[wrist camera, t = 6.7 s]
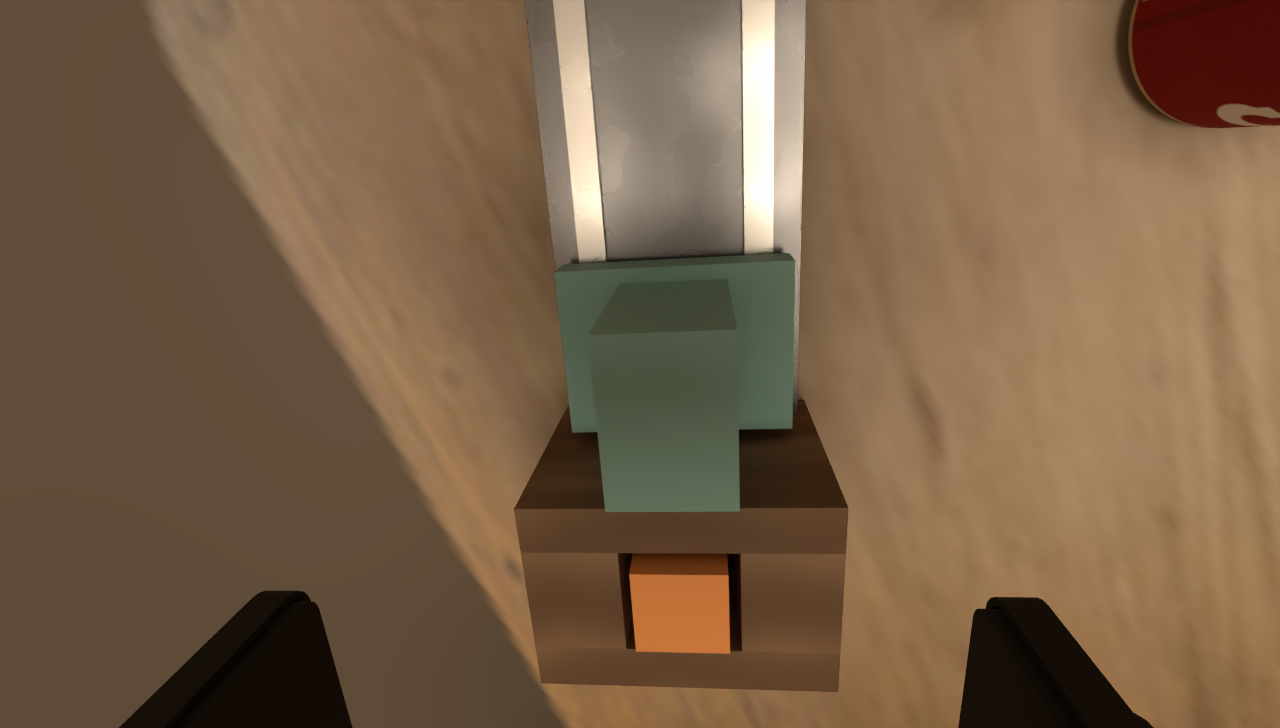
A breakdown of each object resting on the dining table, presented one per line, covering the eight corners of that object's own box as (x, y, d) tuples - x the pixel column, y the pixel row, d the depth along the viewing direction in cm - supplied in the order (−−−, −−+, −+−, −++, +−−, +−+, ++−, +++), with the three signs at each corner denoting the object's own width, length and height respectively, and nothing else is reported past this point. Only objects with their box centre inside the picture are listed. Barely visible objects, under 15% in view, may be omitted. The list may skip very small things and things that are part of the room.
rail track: (513, -202, 19) (495, -236, 17) (803, -243, 18) (813, -283, 16) (579, 405, 26) (570, 423, 24) (791, 400, 25) (798, 418, 23)
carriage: (563, 264, 22) (497, 319, 15) (789, 253, 21) (834, 305, 14) (579, 415, 24) (528, 527, 17) (786, 411, 23) (824, 527, 16)
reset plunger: (650, 451, 26) (629, 574, 18) (720, 450, 25) (728, 575, 18) (654, 511, 27) (635, 651, 19) (721, 511, 26) (730, 653, 19)
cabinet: (568, 405, 26) (513, 509, 19) (804, 400, 25) (848, 507, 17) (583, 542, 28) (541, 683, 21) (800, 542, 27) (838, 691, 20)
